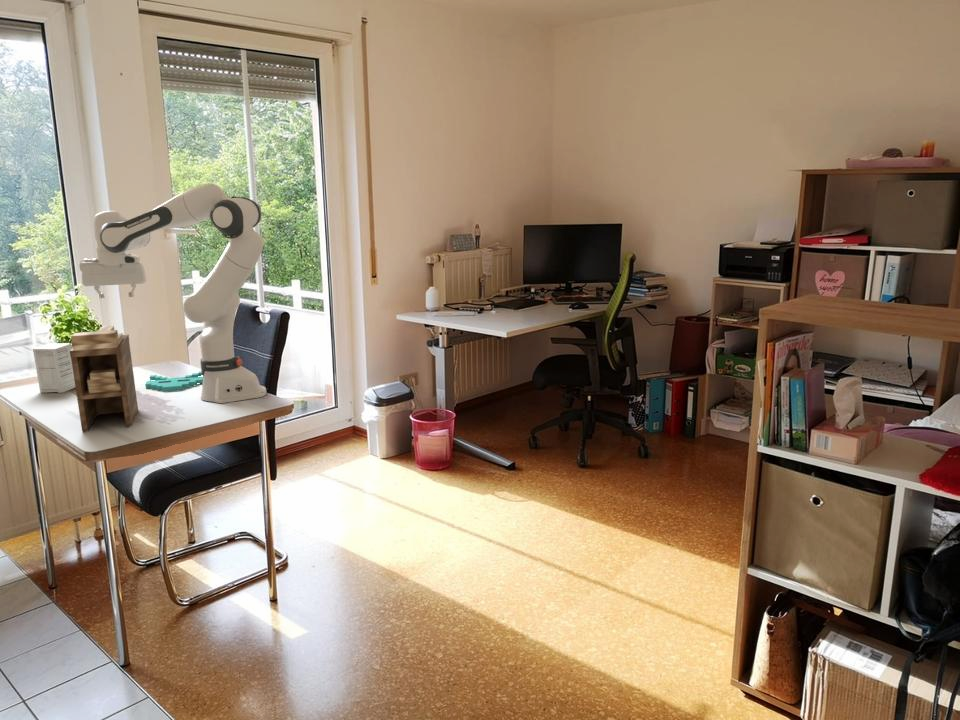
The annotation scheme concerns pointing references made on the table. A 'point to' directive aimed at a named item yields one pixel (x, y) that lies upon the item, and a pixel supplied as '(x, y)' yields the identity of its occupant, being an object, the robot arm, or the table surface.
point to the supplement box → (54, 367)
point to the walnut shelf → (104, 382)
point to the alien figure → (173, 382)
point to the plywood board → (104, 328)
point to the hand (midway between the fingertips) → (116, 297)
